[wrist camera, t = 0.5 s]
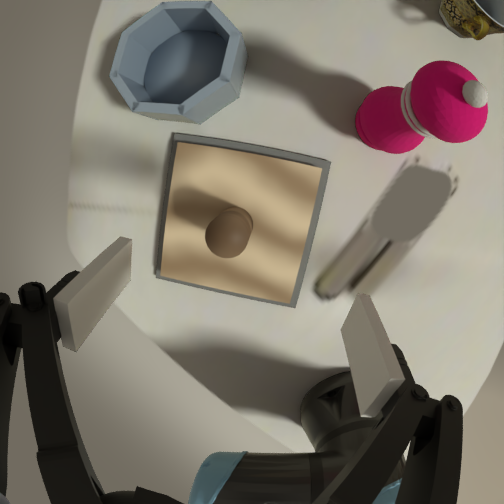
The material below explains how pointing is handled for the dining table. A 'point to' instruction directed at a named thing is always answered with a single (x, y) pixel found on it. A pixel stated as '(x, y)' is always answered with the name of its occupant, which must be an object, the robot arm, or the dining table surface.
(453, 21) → the ceramic cup
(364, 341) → the robot arm
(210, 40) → the bowl
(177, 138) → the mat
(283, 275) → the lid
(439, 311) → the dining table surface
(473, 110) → the pepper mill
